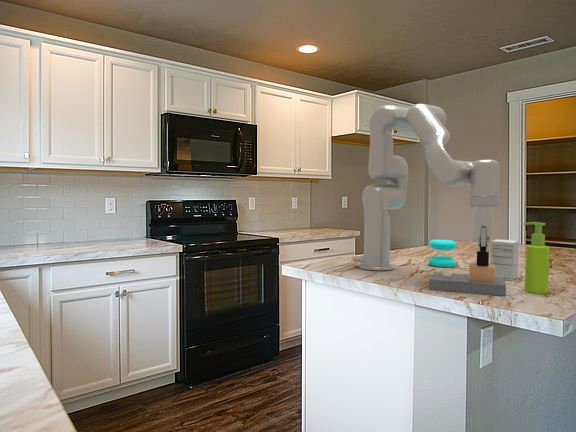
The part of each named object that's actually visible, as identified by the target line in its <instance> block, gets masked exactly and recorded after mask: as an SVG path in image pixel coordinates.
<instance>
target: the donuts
mask: <svg viewBox="0 0 576 432" xmlns="http://www.w3.org/2000/svg"><path fill="white" fill-rule="evenodd" d="M428 244H429V247H430V248H431V249H433V250H436V251H445V252H446V251H452V250H454V249H456V247H457V243H456V241H454V240H452V239H451V240H450V239H431V240H430V241H429V243H428ZM456 263H457V262H456V260H455V259H454V258H453V257H450V256H445V255H444V256H443V255H435V256H432V257H430V258H429V259H428V264H429V265H430V266H432V267H434V268H435V267H436V268H454V267H455V266H456Z"/></svg>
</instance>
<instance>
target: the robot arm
mask: <svg viewBox="0 0 576 432" xmlns="http://www.w3.org/2000/svg"><path fill="white" fill-rule="evenodd" d="M446 124H447V115H446V112H445V111H444V109H443V108H442V107H440V106H437V105H432V104H425V103H415V104H413V105H411V106H410V107H405V106H400V105H394V104H384V105H381V106H379V107H377V108H376V109H375V110H374V111H373V112H372V114H371V117H370V119H369V127H368V129H369V151H368V152H369V153H368V154H369V155H368V165H367V167H368V168H367V170H368V171H367V172H368V176H369V177H370V178H371V179H373V180H377V181H386V182H387V183H371V184H369V185H367V186H365V188H364V189H363V191H362V195H361V201H362V206H363V215H364V217H363V218H364V219H363V220H364V228H363V229H364V230H363V233H364V234H363V235H364V236H363V255H361V256H356V255H354V256H352V262H360V264H359V268H360V269H363V270H368V271H378V272H379V271H380V272H381V271H393V270H394V267H395V266H394V265H393V264H391V263H390V260H391V259H390V258H391V219H390V214H389V212H388V210H397V209H400V208H402V207H403V206H404V205H405V202H406V200H407V196H408V195H407V193H408V182H409V181H408V180H409V166H408V162H407V161H406V159H405V158H404V157H402V156H400V155H394V139H393V136H392V134H391V132H390V131H399V132H406V133H407V132H408V133H414V135H416V136H417V138H418V140H419V141H420V142H421V144H422V145H423V146H424V148H425V151H424V152H425V153H424V155H425V156H424V157H425V161H426V164H427V166H428V168H429V170H430V171H431V172H432V174H433V175H434V176H435V178H436V179H437V180H438V181H439V182H440V183H442V184H443V185H446V186H462V187H470V197H469V198H470V200H469V201H470V202H469V204H470V205H469V207H470V208H471V209H472V208H473V217H472V241H473V242H476V240H477V251H476V264H477V265H478V266H488V265H490V252H489V244H490V243H491V241H492V237H493V229H494V215H495V214H494V210H495V209H498V208H499V200H500V199H499V195H500V163H499V161H498V160H496V159H477V160H474V161H466V160H458V159H457V160H456V159H453V158H452V157H451V156H450V154H449V153H448V152H447V150H446V149H445V147H444V146H446V145H447V143H448V142H449V140H450V138H451V135H450V132H449V130H448V129H447V128H446Z"/></svg>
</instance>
